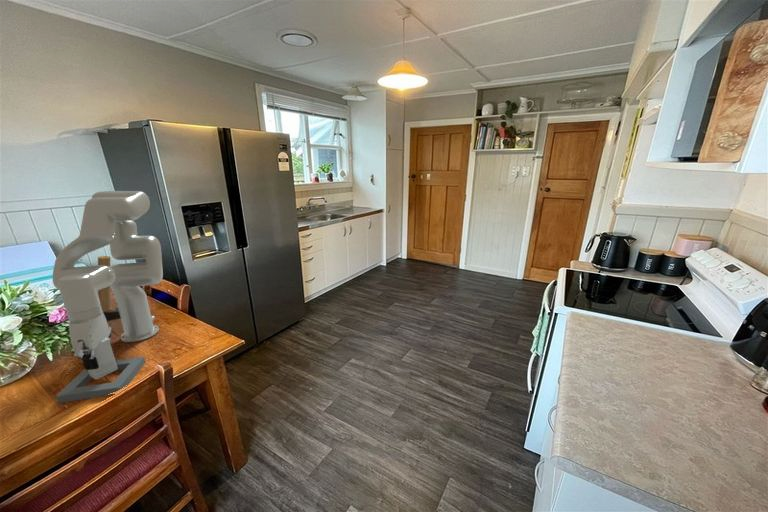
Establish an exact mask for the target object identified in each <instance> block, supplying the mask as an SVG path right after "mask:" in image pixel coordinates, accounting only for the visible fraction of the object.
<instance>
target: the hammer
mask: <svg viewBox="0 0 768 512" xmlns="http://www.w3.org/2000/svg"><path fill="white" fill-rule="evenodd" d="M99 265H104V266H109V267H111V256H109V255H102V256H98V257H97V266H99ZM97 293H98V296H99V300H100V303H101V307H102V310H103V314H104V316H105V318H106V320H113V319H118V318H120V314H119V310H118V307H112V306H111V287H110V286H108V287H106V288H104V289H101V290H99V291H97Z"/></svg>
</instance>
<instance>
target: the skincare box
mask: <svg viewBox="0 0 768 512" xmlns="http://www.w3.org/2000/svg"><path fill="white" fill-rule="evenodd" d="M111 345H112V343H111V344H110V341H109V339H107V338H105V339H104V340H103V341H102V342H101V344H100V345H99V346H98V347H96V348H95V349H94V357H96V359H97V362H98V365H99V368H98V369H92V370H88V372H89V375H90V376H91V377H92V379H94V380H99V379H102V378H103V377H105V376H107V375H109V374H112V373H113V372H116V371H115V370H117V369H118V367H117V364H116V361H115V360H116V356H115V355H114V350H113V351H112V349H113V346H112V347H111ZM84 349H89V348H87V347H85V348H84ZM89 353H90V351H86V354H88V355H89Z"/></svg>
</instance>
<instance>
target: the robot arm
mask: <svg viewBox="0 0 768 512" xmlns="http://www.w3.org/2000/svg"><path fill="white" fill-rule="evenodd" d="M150 206H151V201H150V197H149V196H148V195H147V194H146V193H145V192H143V191H141V190H104V191H98V192H95V193H93V195H92V196H91V198H90V199H88V200H87V201H86V202H85V205H84V208H83V209H84V210H83V215H82V220H81V225H80V232H79V235H78V237H76V238H75V239H74V240H72V241H71V242H70V243H68V244H67V245H66V246H64V248H63V249H62V250H61V251H60V252H59V253H58V255H57V256H56V258H55V262H54V265H53V270H52V271H53V272H52V284H53V286H54V288H56V289H57V290H58V291H59V294H60V295H61V299H62V302H63V305H64V309H65V311H66V315H67V317H68V320H69V323H68V331H69V332H68V333H69V338H70V342H71V346H72V350H73V352H74V354H73V357H74V358H76V359H78V360H79V361H82V363H83V366H84V369H86V370H92V369H98V368H99V365H98V362H97V359H96V357H94V349H95V348H96V347H98V346H99V345H100V344H101V342H102V341H103V340H104V339H105V338H107V339H109V341H110V344H111V347H112V351H113V352H114V349H113V345H112V339H111V335H112V333H111V332H112V326H109V323H108V321H107V320H106V318H105V316H104V314H103V310H102V307H101V303H100V300H99V296H98V291H99V290H101V289H104V288H106V287H108V286H110V289H111V290H112V292H113V295H114V298H115V302H116V305H117V306H116V307H117V308H118V310H119V314H120V317H119V318H120V321H121V325H122V328H123V331H124V332H122V334H121V335H120V340H121V341H122V342H124V343H135V342H139V341H140V342H141V341H143V340H146V339H149V338H152V337H153V336H154V335H157V333H158V332H159V331H160V328H159V326H158V325H156V324H154V323H153V322H154V321H155V319H156V317H155V316H154V315H152V314H151V310H150V305H149V301H148V296H147V293H146V291H145V290H144V289H143V288H141V287H144V286H153V285H158V284H159V283H160V284H161V282H162V280H163V276H164V272H163V270H164V269H163V258H162V257H163V254H162V253H163V252H162V245H161V243H160V240H159V239H158V238H157V237H156V236H153V235H138V227H137V223H136V222H135V220H139V219H140V218H141V217H142V216H143V215H145V214H146V213H147V212H148V211H149V209H150ZM106 246H109V251H110V255H111V256H112V258H113V259H114V260H117V261H118V260H119V261H131V260H133V261H134V260H135V261H136V260H145V261H144V262H143V261H142V262H128V263H118V264H115V265H114V264H113V265H112V266H111V265H110V267H109V266H104V265H99V266H98V265H89V266H88V265H85V266H76V264H77V262H78V261H80V259H81V258H83V257H84V256H86V255H87V254H89V253H92V252H95V251H97V250H99V249H102V248H104V247H106ZM85 347H87V348H89V349H84V348H85ZM86 351H90V353H89V355H88V354H86Z"/></svg>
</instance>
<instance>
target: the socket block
mask: <svg viewBox="0 0 768 512" xmlns="http://www.w3.org/2000/svg"><path fill="white" fill-rule="evenodd" d="M115 361H116V364H117V367H118V369H117V370H115V371H114V372H118V371H119V372H120V371H122V372H121V373H120V374H118V376H117V377H116V379H115V380H114V381H113V382H106V383H99V384H92V385H88V384H89V383H90V382H91V381H92V380H93V378H92V377H91V376H90V375H89V372H88V370H86V369H85V368H84V369H83V370H82V371H80V373H78V374H77V376H75V377H74V378H73V379H72V380H71V381H70V382H69V383H68V384H67V385H66V386H65V387H64V388H62V390H60V391H59V392H58V393H57V394H56V395H55V399H56V402H57V404H60V403H69V402H75V401H76V402H77V401H81V400H89V399H94V398H95V399H96V398H101V397H107V396H106V395H108V394H110V393H113V392H116V391H118V390H120V389H122V388H123V387H125V386H126V385H128V386H129V385H130V383H131V382H132V381H133V379H134V378H135V377H136V375H137V374H138V373H139V372H140V370H141V369H142V368H143V367H144V365H145V364H146V358H145V356H138V357H132V358H121V359H115ZM130 381H131V382H130Z"/></svg>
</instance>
